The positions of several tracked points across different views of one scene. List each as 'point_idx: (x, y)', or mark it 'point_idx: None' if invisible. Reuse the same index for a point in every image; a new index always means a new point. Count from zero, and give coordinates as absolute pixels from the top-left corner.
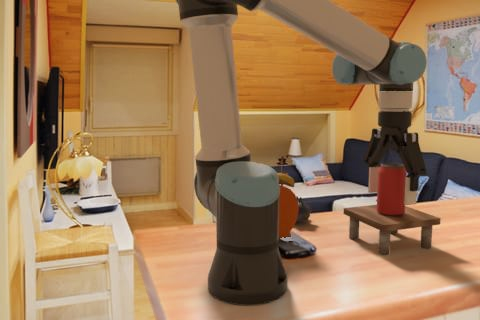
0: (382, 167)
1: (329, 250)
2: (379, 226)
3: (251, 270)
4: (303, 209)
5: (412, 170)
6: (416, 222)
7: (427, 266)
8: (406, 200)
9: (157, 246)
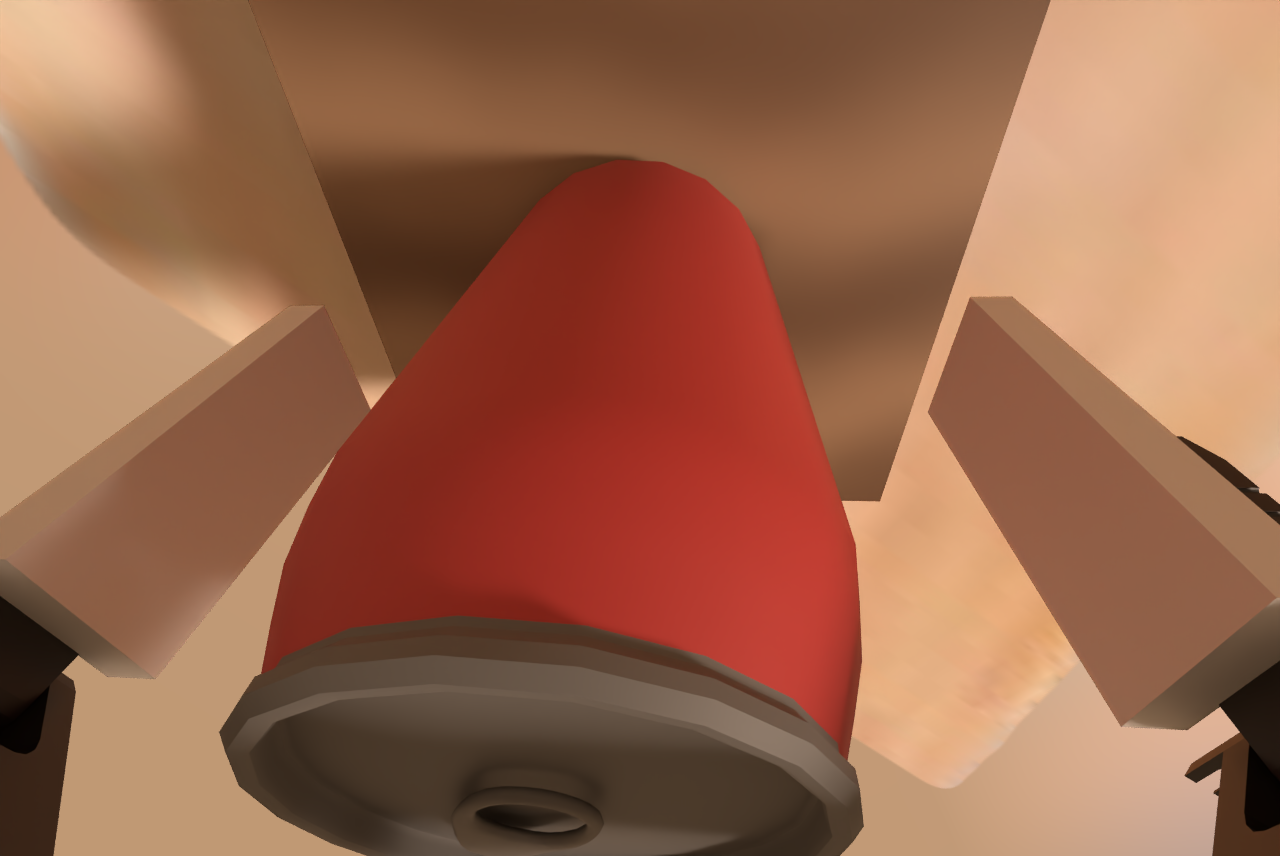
0: (545, 595)
1: None
2: None
3: None
4: None
5: (2, 755)
6: (379, 321)
7: (246, 159)
8: (261, 331)
9: None
